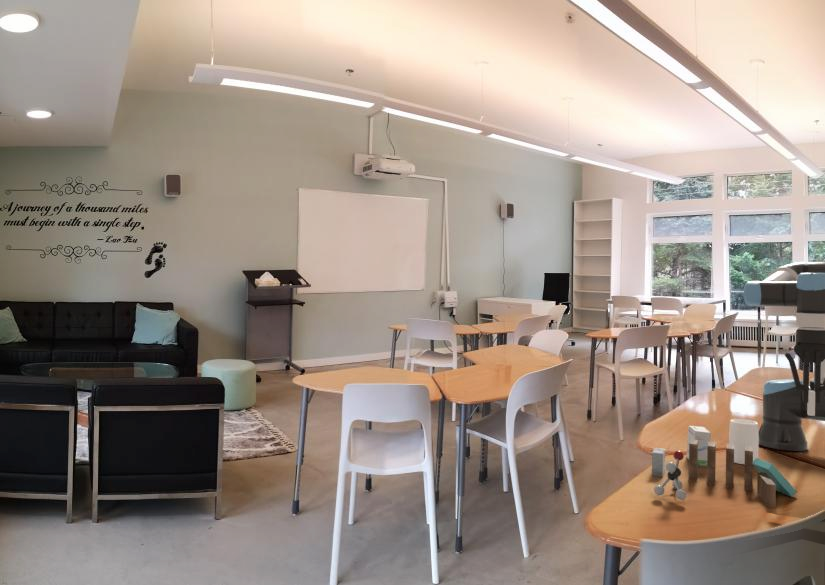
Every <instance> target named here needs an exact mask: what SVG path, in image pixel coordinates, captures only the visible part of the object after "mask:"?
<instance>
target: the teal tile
mask: <svg viewBox="0 0 825 585" xmlns="http://www.w3.org/2000/svg"><path fill="white" fill-rule="evenodd" d="M752 464H753V466H754V467H755V468H756V470H757V472H761V473H766V474H767V475H768V476H769V478H770V479H771V480H772V481H773V482H774V483H775V485H776V491H777V492H779V493H782V494H784V495H786V496H789V497H791V498H794V496H795V495H796V494H797V493H798V491H797V490H796V489H795V488H794V486H793V485H792V484H791V483H790V482H789V481H788V479H786V478H785V476H784V475H783V474H782V472H780V471H779V469H777V467H776V465H774V464H773V463H770V462H768V461H766V460H763V459H761V458H759V457H758V458H756V459H755V460H754V461H753V462H752Z"/></svg>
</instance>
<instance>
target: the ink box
mask: <svg viewBox="0 0 825 585" xmlns="http://www.w3.org/2000/svg"><path fill="white" fill-rule="evenodd" d="M687 428H688V429H687V441H686V442H687V444H686V445H687V446H686V459H687V460H688V461H689V443H690V440H691V439H692V440H698V467H704V466H705V467H706V468H707V450H708V442H711V440H712V439H711V438H712V437H711V435H712V434H711V432H710V430H708V429H707V428H706V427H704V426H696V425H688V426H687Z"/></svg>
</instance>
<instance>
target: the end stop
mask: <svg viewBox="0 0 825 585" xmlns="http://www.w3.org/2000/svg"><path fill="white" fill-rule="evenodd" d="M665 466H666V448H661V447H656V446H655V447H654V448H653V451H652V452H651V476H653V477H658V478H664V475H665V471H666V467H665Z"/></svg>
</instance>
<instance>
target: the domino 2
mask: <svg viewBox="0 0 825 585" xmlns="http://www.w3.org/2000/svg"><path fill="white" fill-rule="evenodd" d="M716 447H717V442H716V441H715V442H714V441H710V442H708V450H707V467H706V484H707V485H712V486H715V485H716V469H717V468H716V464H717V463H716V462H717V460H716V459H717V458H716V457H717V455H716V453H717V450H716V449H717V448H716Z"/></svg>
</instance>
